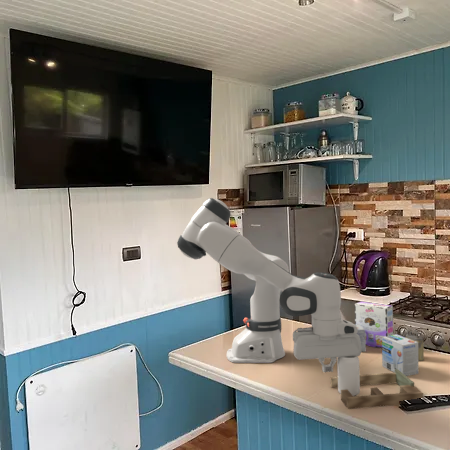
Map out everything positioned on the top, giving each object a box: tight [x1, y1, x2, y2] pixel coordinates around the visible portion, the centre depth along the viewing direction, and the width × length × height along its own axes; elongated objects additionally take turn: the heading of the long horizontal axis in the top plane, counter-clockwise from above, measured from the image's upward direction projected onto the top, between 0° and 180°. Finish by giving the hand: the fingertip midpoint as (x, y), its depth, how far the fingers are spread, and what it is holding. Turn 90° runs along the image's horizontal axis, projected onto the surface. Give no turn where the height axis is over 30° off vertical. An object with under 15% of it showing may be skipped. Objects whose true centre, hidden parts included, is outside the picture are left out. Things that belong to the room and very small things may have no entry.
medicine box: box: [353, 323, 367, 353], centre depth 182 cm, size 8×4×9 cm, turn 179°
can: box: [336, 356, 361, 397], centre depth 142 cm, size 6×6×12 cm
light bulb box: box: [381, 334, 419, 377], centre depth 158 cm, size 11×7×11 cm, turn 21°
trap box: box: [329, 369, 424, 410], centre depth 140 cm, size 22×16×4 cm
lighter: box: [405, 329, 425, 362], centre depth 169 cm, size 7×4×10 cm, turn 27°
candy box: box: [354, 300, 394, 350], centre depth 185 cm, size 14×6×16 cm, turn 44°
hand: (327, 371), depth 141 cm, fingers closed
